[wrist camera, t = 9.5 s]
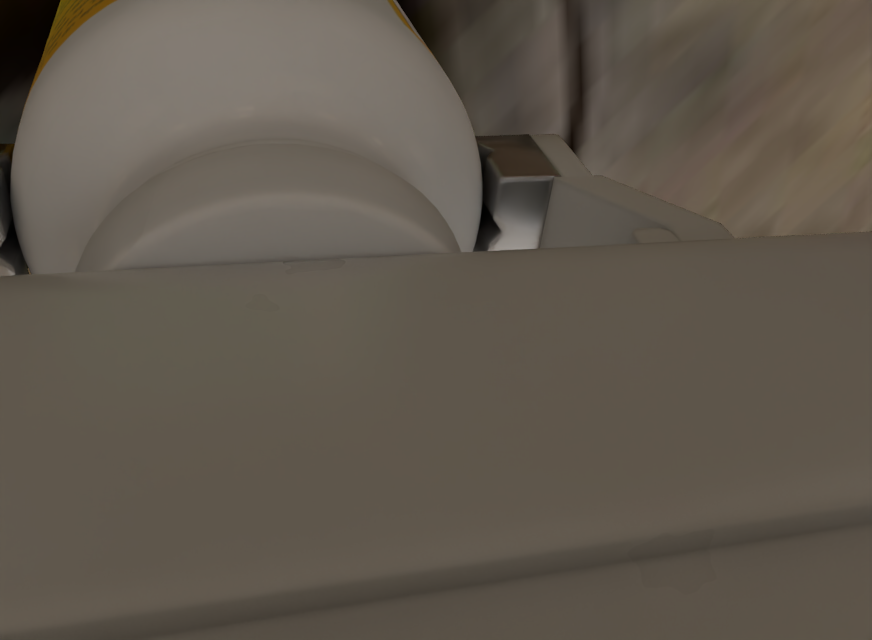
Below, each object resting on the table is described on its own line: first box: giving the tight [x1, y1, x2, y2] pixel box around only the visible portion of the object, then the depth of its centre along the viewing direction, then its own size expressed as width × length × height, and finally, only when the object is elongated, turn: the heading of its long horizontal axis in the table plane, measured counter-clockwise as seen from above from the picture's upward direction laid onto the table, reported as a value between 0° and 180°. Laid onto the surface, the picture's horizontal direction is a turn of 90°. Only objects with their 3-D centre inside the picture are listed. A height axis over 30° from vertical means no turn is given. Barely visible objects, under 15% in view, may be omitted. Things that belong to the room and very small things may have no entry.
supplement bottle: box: [10, 0, 483, 274], centre depth 14 cm, size 7×7×13 cm
